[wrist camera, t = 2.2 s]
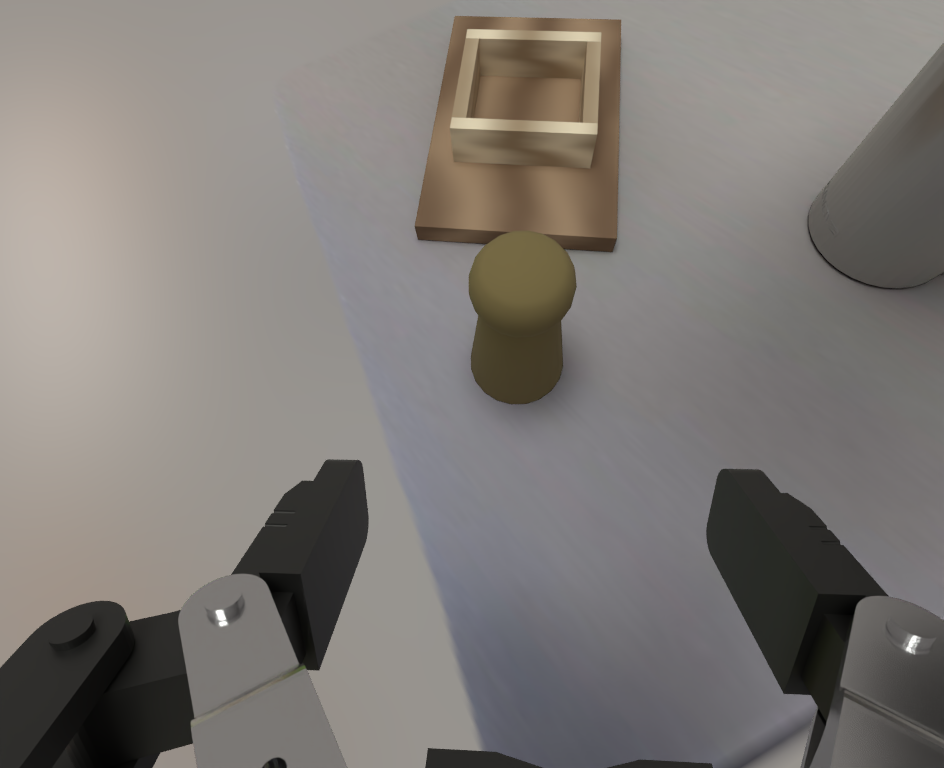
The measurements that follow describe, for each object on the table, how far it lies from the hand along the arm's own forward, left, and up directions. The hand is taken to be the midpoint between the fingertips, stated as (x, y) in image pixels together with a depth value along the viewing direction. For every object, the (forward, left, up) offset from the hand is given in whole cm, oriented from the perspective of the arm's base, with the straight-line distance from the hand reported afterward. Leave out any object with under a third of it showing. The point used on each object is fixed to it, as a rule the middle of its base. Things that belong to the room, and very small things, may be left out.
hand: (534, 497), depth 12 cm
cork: (+1, -12, -19) cm, 22 cm away
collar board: (+2, -32, -19) cm, 37 cm away
